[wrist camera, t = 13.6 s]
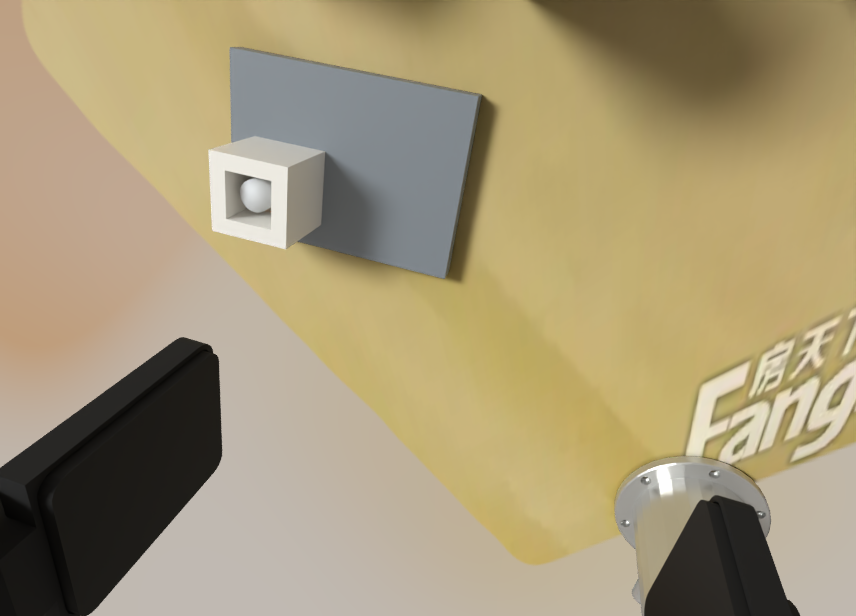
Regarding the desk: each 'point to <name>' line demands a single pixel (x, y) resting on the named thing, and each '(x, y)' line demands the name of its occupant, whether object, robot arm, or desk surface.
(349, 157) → the post board
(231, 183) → the white hollow cube
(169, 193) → the desk surface
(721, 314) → the desk surface
